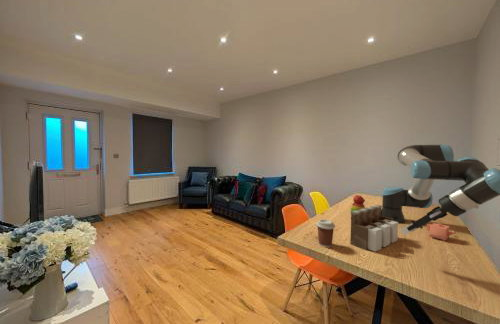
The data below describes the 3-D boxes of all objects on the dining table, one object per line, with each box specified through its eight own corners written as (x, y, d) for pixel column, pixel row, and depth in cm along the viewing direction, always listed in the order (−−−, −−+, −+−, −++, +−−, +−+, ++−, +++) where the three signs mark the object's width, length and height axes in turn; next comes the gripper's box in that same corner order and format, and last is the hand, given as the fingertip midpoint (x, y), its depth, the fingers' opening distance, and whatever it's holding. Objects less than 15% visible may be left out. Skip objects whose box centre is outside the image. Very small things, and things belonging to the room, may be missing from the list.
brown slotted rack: (376, 233, 120) (377, 204, 120) (392, 237, 113) (393, 207, 113) (350, 243, 105) (350, 211, 105) (366, 250, 98) (367, 215, 98)
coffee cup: (330, 240, 110) (330, 218, 109) (337, 248, 101) (338, 224, 100) (313, 240, 109) (313, 218, 109) (319, 248, 100) (320, 224, 100)
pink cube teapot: (454, 244, 106) (454, 228, 105) (424, 236, 115) (425, 222, 115) (457, 240, 110) (457, 225, 110) (428, 233, 120) (429, 220, 120)
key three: (368, 244, 105) (369, 224, 105) (381, 248, 100) (381, 228, 100) (362, 246, 102) (363, 226, 101) (375, 251, 97) (375, 230, 96)
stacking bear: (368, 223, 138) (369, 197, 137) (352, 222, 140) (353, 196, 139) (363, 218, 148) (364, 194, 147) (348, 217, 150) (349, 193, 149)
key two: (377, 240, 110) (377, 221, 109) (389, 244, 105) (390, 224, 104) (371, 242, 107) (372, 223, 106) (384, 247, 102) (384, 227, 101)
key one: (385, 236, 115) (385, 218, 114) (397, 240, 110) (398, 221, 109) (380, 238, 112) (380, 220, 111) (392, 242, 106) (393, 223, 106)
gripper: (462, 214, 69) (403, 244, 83) (471, 208, 76) (415, 237, 91) (442, 195, 73) (389, 227, 88) (452, 192, 80) (402, 222, 95)
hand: (402, 232), depth 89 cm, fingers closed
